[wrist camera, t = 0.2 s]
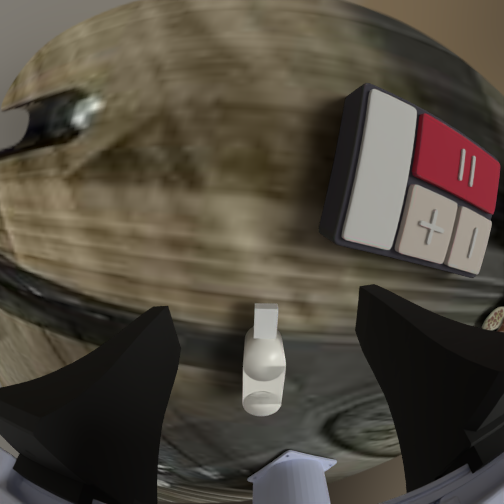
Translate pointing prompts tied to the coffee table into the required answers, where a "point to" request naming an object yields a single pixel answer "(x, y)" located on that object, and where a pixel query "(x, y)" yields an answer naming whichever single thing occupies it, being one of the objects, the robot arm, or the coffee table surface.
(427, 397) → the robot arm
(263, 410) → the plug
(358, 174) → the calculator
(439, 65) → the coffee table surface
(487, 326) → the decorative turtle
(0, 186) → the coffee table surface
